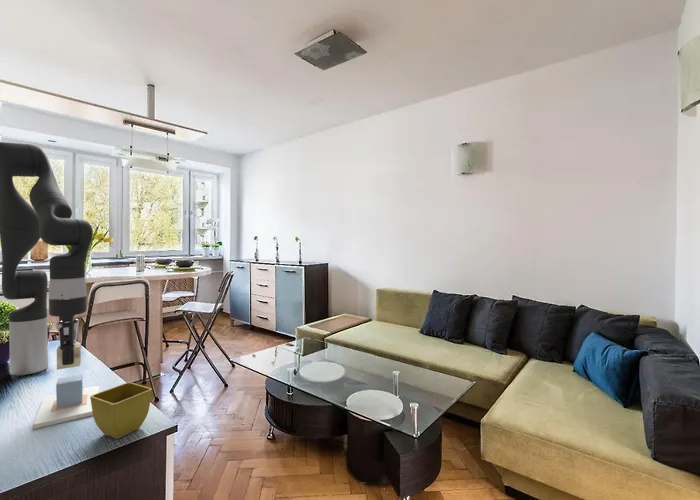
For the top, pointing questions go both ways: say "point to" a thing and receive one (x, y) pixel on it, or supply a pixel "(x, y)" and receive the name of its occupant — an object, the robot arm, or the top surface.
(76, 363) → the maple block
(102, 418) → the flower pot
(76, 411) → the board
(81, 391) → the slate block
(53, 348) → the top surface
